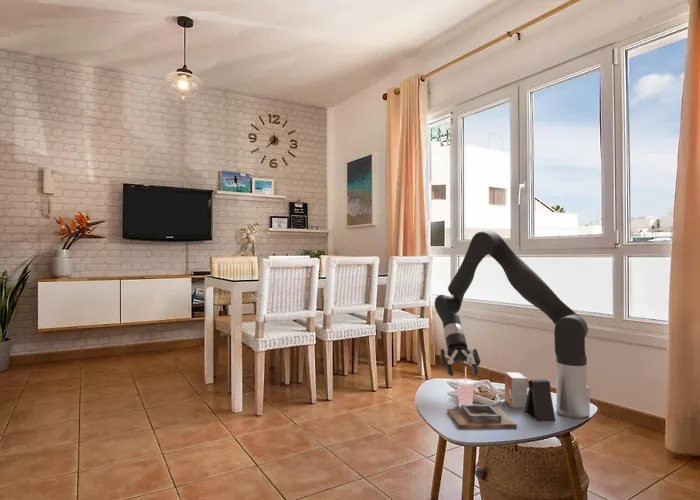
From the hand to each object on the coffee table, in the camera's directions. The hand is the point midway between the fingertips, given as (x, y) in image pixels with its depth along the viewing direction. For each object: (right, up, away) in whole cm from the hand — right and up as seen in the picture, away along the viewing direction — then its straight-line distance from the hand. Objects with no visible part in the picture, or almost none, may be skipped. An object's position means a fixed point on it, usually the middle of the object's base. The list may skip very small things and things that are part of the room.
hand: (463, 375), depth 158 cm
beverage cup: (0, -10, -3) cm, 11 cm away
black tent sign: (+22, -10, -12) cm, 27 cm away
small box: (+19, -11, 0) cm, 22 cm away
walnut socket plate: (+1, -10, -16) cm, 19 cm away
